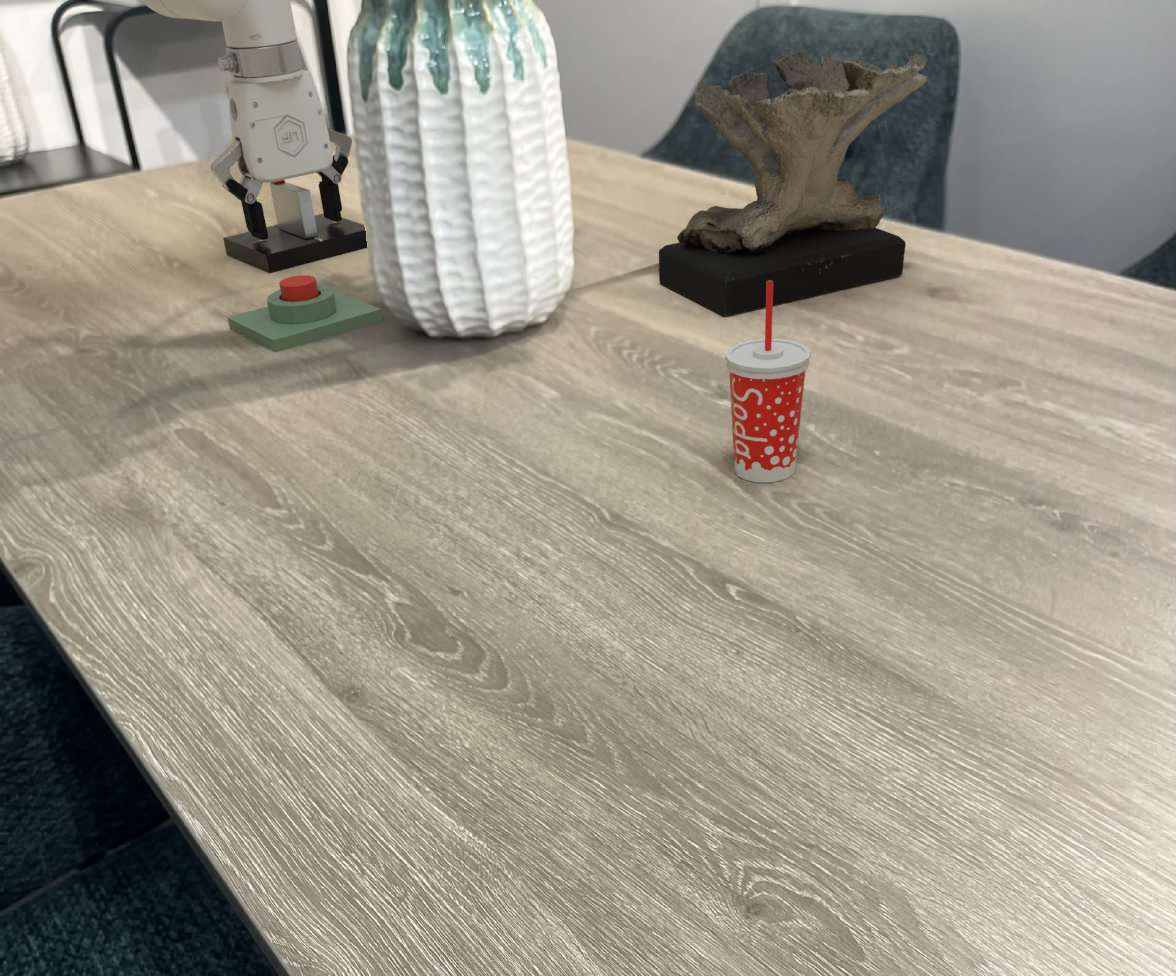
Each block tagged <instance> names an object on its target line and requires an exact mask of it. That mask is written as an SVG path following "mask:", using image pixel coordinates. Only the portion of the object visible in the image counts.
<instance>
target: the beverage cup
mask: <svg viewBox="0 0 1176 976" xmlns="http://www.w3.org/2000/svg"><path fill="white" fill-rule="evenodd" d="M773 308H774V307H773V280H768V281H766V307H765V319H764V320H765V323H764V338H759V339H758V338H757V339H750V340H745V341H742V342H738V343H736V344H734V345H733V346H731V347H729V348H727V350H726V353H725V356H724V360H725V361H726V363H725V367H726V369H727V370H728V373H729V390H730V391H729V393H730V409H731V410H730V411H731V428H732V447H733V450H732V451H733V465H734V472H735V474H736V475H737V477H738V478H741V479H743V480H744V481H749V482H753V483H766V484H768V483H777V482H780V481H781V482H782V481H784V480H787V479H789V478H790V477H792V476H793V475H794V474H795V471H796V466H797V465H796V463H797V454H798V445H799V435H800V426H801V418H802V417H801V416H802V410H803V409H802V408H803V399H804V388H805V380H806V370H808V369H809V366H810V364H811V361H810V359H811V353H812V351H811V349H809V347H808V346H807V345H805V344H804V343H801V342H798V341H795V340H790V339H783V338H773V310H774V309H773Z"/></svg>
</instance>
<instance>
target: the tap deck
mask: <svg viewBox="0 0 1176 976" xmlns="http://www.w3.org/2000/svg"><path fill="white" fill-rule="evenodd" d="M314 217H315V222H316V228H317V233H318V236H316V237H312V238H308V239H305V238H302V237H300V236H297V235H294V234H292V233H289V232H286V231H284V230H281V229H279V228H278V224H277V222H276V223H274V225H271V226H270V225H269V226H266V227H267V232H268V238H267V239H266V240H261V239H258V238H256V237H253V236H252V235H251V232H249V231H246V232H242V233H238V234H233V235H229V236H225V237H223V238H222V239H223V243H224V248H225V253H226V256H227V257H229V258H232V259H235V260H237V261H239V262H241V263H244V264H246V265H249V266H251V267H253V268H256V269H259V270H260V271H263V272H265V273H268V274H273V273H277V272H281V271H285V270H289V269H293V268H296V267H300V266H304V265H308V264H312V263H315V262H319V261H323V260H327V259H330V258H334V257H339V256H342V255H346V254H349V253H353V252H358V251H361V250H365V249H368V248H367V241H366V231H365V227H364V225H365V224H363V223H360V222H357V221H354V220H351V219H348V218H345V217H342V216H341V218H342V220H341V221H339V222H335V221H333V220H330V219H327V218H325V217H324V214H323V213H320V214H316V215H315V214H314Z"/></svg>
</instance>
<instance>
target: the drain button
mask: <svg viewBox="0 0 1176 976" xmlns="http://www.w3.org/2000/svg"><path fill="white" fill-rule="evenodd" d="M278 285H279V290H281V295H282V300H283V301H288V302H297V301H306V300H310V299H313V298H316V297H318V296H319V294H318V288H317V285H318V283H317V279H316V277H315V276H313V275H306V274H303V275H301V274H299V275H294V276H289V277H285V278H283V279H281V280H280V281H279V283H278Z"/></svg>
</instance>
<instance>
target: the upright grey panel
mask: <svg viewBox="0 0 1176 976" xmlns="http://www.w3.org/2000/svg"><path fill="white" fill-rule="evenodd" d="M269 189H270V193H271V197H272V198H271V199H272V203H273V208H274V213H275V218H276V223H277V224H278V228H279V229H281V230H284V231H286V232H289V233H292V234H294V235H297V236H300V237H302V238H305V239H308V238H312V237H316V236H318V233H317V228H316V222H315V217H314V216H315V211H314V207H313V201H312V195H311V190H310V189H308V188H305V187H302V186H299V185H295V184H294V183H293V184H292V183H290V182H287V181H286V179H285V180H281V181H276V182H270V183H269Z"/></svg>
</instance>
